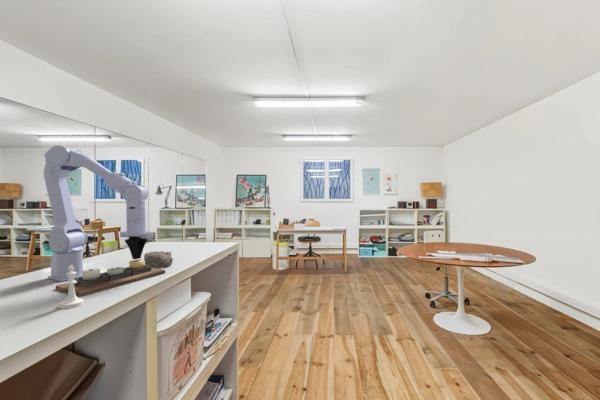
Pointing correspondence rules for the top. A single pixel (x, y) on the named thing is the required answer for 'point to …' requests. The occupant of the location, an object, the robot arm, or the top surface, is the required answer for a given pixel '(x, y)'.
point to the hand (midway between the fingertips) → (136, 258)
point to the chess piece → (71, 292)
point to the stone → (158, 259)
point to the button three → (136, 264)
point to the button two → (115, 270)
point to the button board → (110, 280)
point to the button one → (90, 274)
